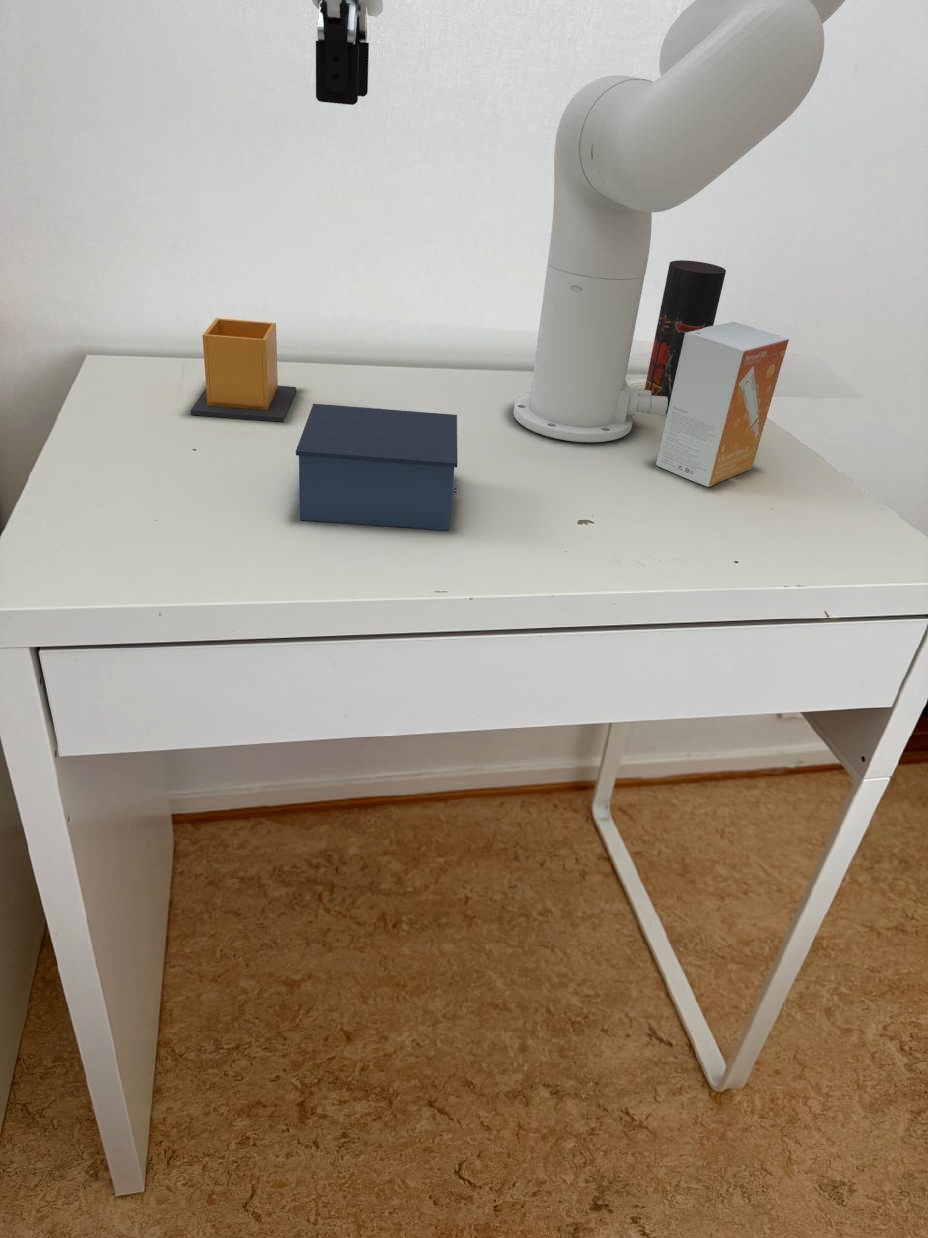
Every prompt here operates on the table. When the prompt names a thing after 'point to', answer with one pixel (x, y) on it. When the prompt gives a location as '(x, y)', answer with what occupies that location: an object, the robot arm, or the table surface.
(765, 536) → the table surface
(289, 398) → the rubber mat
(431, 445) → the storage tub
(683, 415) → the small box
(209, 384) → the amber container
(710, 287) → the deodorant
